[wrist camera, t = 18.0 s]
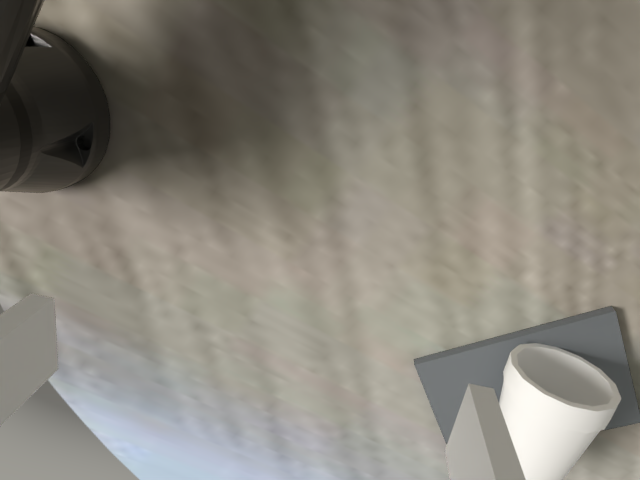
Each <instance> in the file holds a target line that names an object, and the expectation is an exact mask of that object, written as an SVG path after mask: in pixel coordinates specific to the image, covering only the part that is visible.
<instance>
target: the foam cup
mask: <svg viewBox="0 0 640 480" xmlns="http://www.w3.org/2000/svg"><path fill="white" fill-rule="evenodd" d="M503 376H504V381H503V386H502V391H501V396H500V401H499V405H500V408H501V411H502V414H503V416H504V419H505V422H506V425H507V428H508V431H509V433H510V436H511V439H512V442H513V445H514V448H515V450H516V453H517V456H518V459H519V462H520V465H521V467H522V470H523V473H524V476H525V479H526V480H563V479H564V478H565V477H566V475H567V474H568V473H569V471H570V470H571V469H572V467H573V466H574V465H575V463H576V462H577V461H578V460H579V458H580V457H581V456H582V454H583V453H584V452H585V450H586V449H587V448H588V446H589V445H590V444H591V442H592V441H593V440H594V438H595V437H596V436H597V434H598V433H599V432H600V431H601V430H604V429H605V428H606V426H607V425H608V423H609V422H610V420H611V418H612V416H613V414H614V412H615V410H616V408H617V406H618V404H619V402H620V400H621V396H620V394H619V391H618V389H617V386H616V384H615V383H614V382H613V381H612V380H611V379H610V378H609V377H608V376H607V375H606V374H605V373H604V372H603V371H602V370H601V369H599V368H598V367H596V366H595V365H593V364H591V363H590V362H588V361H587V360H585V359H583V358H582V357H580V356H578V355H575V354H573V353H570V352H568V351H565V350H563V349H560V348H558V347H554V346H549V345H544V344H539V343H530V344H520V345H518V346H517V347H516V348H515V349H513V350H512V351H511V352H510V355H509V358H508V360H507V363H506V365H505V368H504V371H503Z"/></svg>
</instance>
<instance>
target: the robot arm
mask: <svg viewBox="0 0 640 480" xmlns="http://www.w3.org/2000/svg"><path fill="white" fill-rule="evenodd" d="M43 2H44V0H0V191H8V192H30V193H44V192H51V191H56V190H60V189H62V188H65V187H68V186H70V185H72V184H75V183H77V182H79V181H81V180H82V179H84V178H85V177H87V176H88V175H89V174H90V173H92V172H93V171H94V169H95V168H96V167H97V166H98V164H99V163H100V161H101V160H102V158H103V156H104V154H105V151H106V148H107V145H108V141H109V134H110V117H109V110H108V105H107V101H106V98H105V95H104V92H103V89H102V87H101V85H100V83H99V81H98V79H97V77H96V75H95V74H94V72H93V70H92V69H91V67H90V66H89V65H88V63H87V62H86V61H85V60H84V59H83V57H82V56H81V55H80V54H79V53H78V52H77V51H76V50H75V49H74V48H73V47H71V46H70V45H69V44H68V43H66V42H65V41H64V40H62V39H61V38H59V37H57V36H56V35H54V34H52V33H50V32H48V31H45V30H43V29H40V28H37V27H33V26H34V24H35V22H36V19H37V17H38V14H39V12H40V10H41V7H42V5H43ZM57 370H58V354H57V335H56V316H55V298H52V297H47V296H42V295H37V294H32V293H31V294H30V295H28V296H27V297H25V298H24V299H22V300H21V301H19V302H18V303H17V304H15V305H14V306H12V307H11V308H9V309H8V310H7V311H5V312H4V313H2V314H1V315H0V426H2V425H3V424H4V422H6V421H7V420H8V419H9V418H10V417H11V416H12V415H13V414H14V413H15V412H16V411H17V409H19V408H20V407H21V406H22V405H23V404H24V403H25V402H26V401H27V400H28V399H29V398H30V397H31V396H32V395H33V394H34V393H35V392H36V391H37V390H38V389H39V388H40V386H41V385H43V384H44V383H45V382H46V381H47V380H48V379H49V378H50V377H51V376H52V375H53V374H54V373H55V372H56V371H57ZM445 455H446V461H447V467H448V472H449V478H450V480H526V479H525V476H524V473H523V470H522V467H521V465H520V462H519V459H518V456H517V453H516V450H515V448H514V445H513V442H512V439H511V436H510V433H509V431H508V428H507V425H506V422H505V419H504V416H503V414H502V411H501V408H500V405H499V402H498V399H497V396H496V394H495V391H494V389H493V388H488V387H484V386H479V385H474V384H468V387H467V390H466V392H465V395H464V398H463V401H462V404H461V406H460V409H459V412H458V415H457V418H456V421H455V423H454V426H453V429H452V432H451V435H450V438H449V440H448V443H447V446H446V449H445Z"/></svg>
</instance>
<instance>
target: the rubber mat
mask: <svg viewBox="0 0 640 480" xmlns="http://www.w3.org/2000/svg"><path fill="white" fill-rule="evenodd" d="M530 343H539V344H544V345H549V346H554V347H558V348H560V349H563V350H565V351H568V352H570V353H573V354H575V355H578V356H580V357H582V358H583V359H585V360H587V361H588V362H590V363H591V364H593V365H595V366H596V367H598V368H599V369H601V370H602V371H603V372H604V373H605V374H606V375H607V376H608V377H609V378H610V379H611V380H612V381H613V382H614V383H615V384H616V386H617V389H618V391H619V394H620V396H621V400H620V402H619V404H618V406H617V408H616V410H615V412H614V414H613V416H612V418H611V420H610V422H609V423H608V425H607V426H606V428H605V429H604V430H608V429H612V428H617V427H622V426H627V425H631V424H636V423H640V412H639V408H638V404H637V399H636V395H635V391H634V387H633V382H632V378H631V374H630V370H629V365H628V361H627V357H626V352H625V348H624V344H623V340H622V335H621V331H620V327H619V323H618V318H617V314H616V311H615V310H614V309H613V308H612V306H609V307H605V308H602V309H598V310H594V311H591V312H587V313H583V314H580V315H576V316H572V317H569V318H565V319H561V320H557V321H554V322H550V323H546V324H543V325H539V326H535V327H532V328H528V329H524V330H521V331H517V332H513V333H509V334H506V335H502V336H498V337H495V338H491V339H487V340H484V341H480V342H476V343H472V344H469V345H465V346H461V347H458V348H454V349H450V350H447V351H443V352H439V353H436V354H432V355H428V356H424V357H421V358H417V359H414V365H415V367H416V370H417V372H418V375H419V377H420V380H421V382H422V385H423V387H424V390H425V392H426V395H427V397H428V400H429V402H430V405H431V407H432V410H433V412H434V415H435V417H436V420H437V422H438V425H439V427H440V430H441V432H442V434H443V437H444V439H445V442H446V444H447V443H448V440H449V438H450V435H451V432H452V429H453V426H454V423H455V421H456V418H457V415H458V412H459V409H460V406H461V404H462V401H463V398H464V395H465V392H466V390H467V387H468V384H474V385H479V386H484V387H488V388H493V389H494V391H495V394H496V396H497V399H498V402H499V401H500V396H501V391H502V386H503V381H504V376H503V371H504V368H505V365H506V363H507V360H508V358H509V355H510V352H511V351H512V350H513V349H515V348H516V347H517V346H518V345H520V344H530ZM601 431H603V430H601Z"/></svg>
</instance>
